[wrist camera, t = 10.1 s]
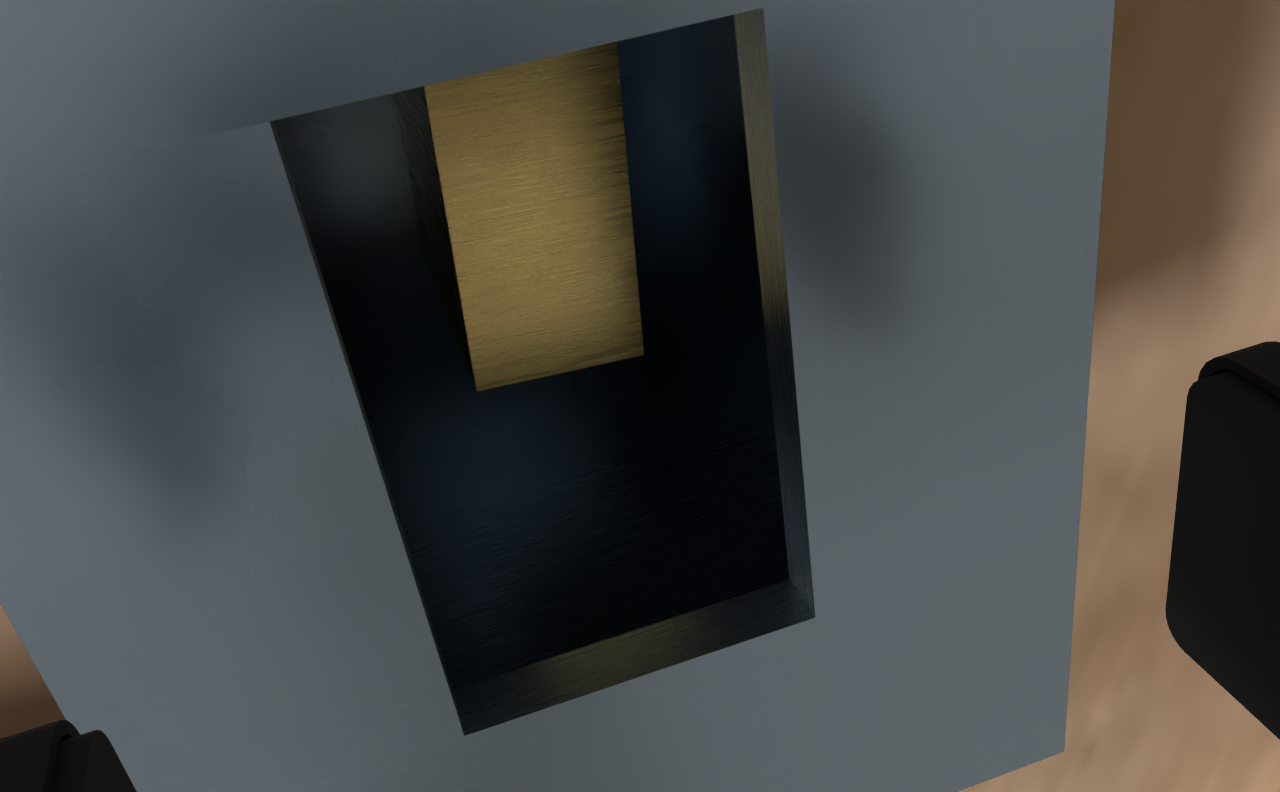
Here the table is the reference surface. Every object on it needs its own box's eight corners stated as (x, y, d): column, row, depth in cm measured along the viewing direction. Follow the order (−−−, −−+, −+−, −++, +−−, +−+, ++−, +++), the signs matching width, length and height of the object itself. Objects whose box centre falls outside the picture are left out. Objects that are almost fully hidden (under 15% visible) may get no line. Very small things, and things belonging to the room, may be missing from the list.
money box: (800, 421, 26) (1075, 746, 18) (241, 590, 24) (256, 1054, 15) (724, -470, 18) (1180, -647, 9) (-151, -339, 15) (-580, -421, 7)
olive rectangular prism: (525, -56, 19) (560, 234, 22) (369, -34, 18) (424, 261, 21) (613, 5, 15) (644, 355, 17) (415, 35, 14) (477, 391, 17)
